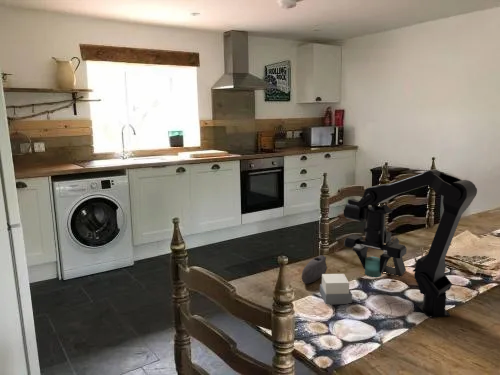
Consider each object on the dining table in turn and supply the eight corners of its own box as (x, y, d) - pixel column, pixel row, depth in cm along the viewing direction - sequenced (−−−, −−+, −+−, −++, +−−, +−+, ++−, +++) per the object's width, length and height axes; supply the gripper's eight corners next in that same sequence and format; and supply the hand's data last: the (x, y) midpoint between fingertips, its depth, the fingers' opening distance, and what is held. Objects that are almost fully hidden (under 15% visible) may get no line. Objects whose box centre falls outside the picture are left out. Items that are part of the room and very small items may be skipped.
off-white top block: (348, 293, 121) (349, 282, 120) (325, 294, 121) (325, 283, 120) (343, 284, 128) (343, 273, 127) (321, 284, 128) (321, 274, 127)
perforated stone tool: (309, 288, 132) (309, 269, 130) (295, 284, 135) (295, 265, 134) (330, 274, 143) (330, 255, 142) (317, 270, 146) (317, 252, 145)
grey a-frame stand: (375, 271, 145) (377, 239, 143) (381, 265, 150) (382, 235, 148) (401, 276, 140) (403, 244, 138) (406, 271, 145) (407, 239, 142)
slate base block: (351, 304, 121) (352, 294, 121) (325, 306, 121) (326, 295, 120) (344, 293, 129) (344, 283, 128) (319, 294, 129) (319, 284, 128)
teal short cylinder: (384, 277, 127) (384, 262, 126) (368, 277, 127) (368, 262, 126) (377, 270, 132) (378, 256, 131) (362, 271, 132) (363, 257, 131)
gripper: (414, 224, 126) (411, 270, 129) (359, 214, 138) (358, 257, 141) (400, 232, 118) (398, 281, 121) (343, 221, 130) (342, 266, 133)
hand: (373, 271), depth 129 cm, fingers closed on teal short cylinder, 5 cm apart
